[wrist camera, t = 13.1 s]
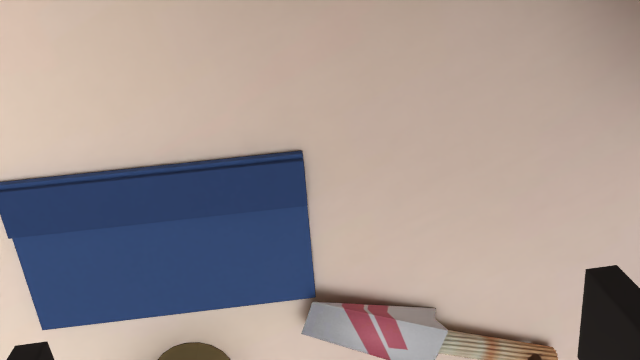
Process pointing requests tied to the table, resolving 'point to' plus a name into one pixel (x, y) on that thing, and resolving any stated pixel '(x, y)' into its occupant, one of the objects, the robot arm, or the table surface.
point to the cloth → (162, 238)
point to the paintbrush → (409, 334)
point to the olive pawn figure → (194, 352)
